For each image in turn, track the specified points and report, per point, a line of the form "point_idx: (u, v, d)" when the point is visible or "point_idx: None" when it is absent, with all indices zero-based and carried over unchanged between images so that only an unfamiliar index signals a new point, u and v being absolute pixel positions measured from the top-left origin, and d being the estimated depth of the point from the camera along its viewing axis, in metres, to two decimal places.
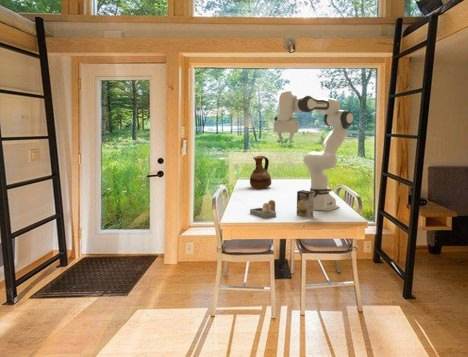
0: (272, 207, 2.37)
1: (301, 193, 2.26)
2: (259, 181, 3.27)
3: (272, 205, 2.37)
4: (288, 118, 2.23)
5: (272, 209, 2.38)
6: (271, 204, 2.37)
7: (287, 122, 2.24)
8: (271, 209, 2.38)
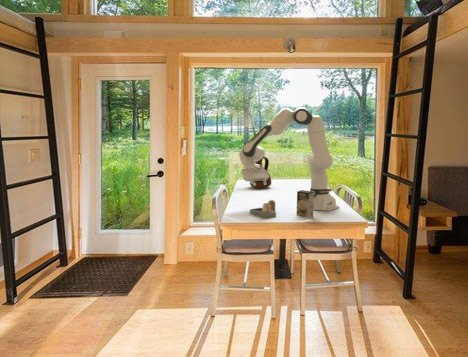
0: (272, 207, 2.37)
1: (301, 193, 2.26)
2: (259, 181, 3.27)
3: (272, 205, 2.37)
4: None
5: (272, 209, 2.38)
6: (271, 204, 2.37)
7: None
8: (271, 209, 2.38)
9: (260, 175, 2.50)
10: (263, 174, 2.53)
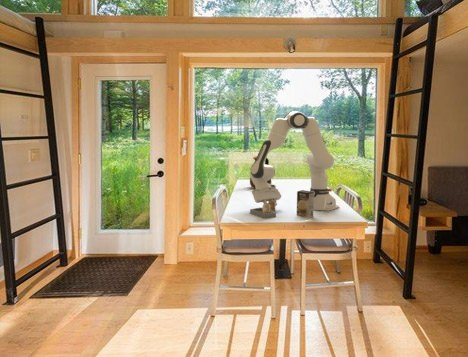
0: (272, 207, 2.37)
1: (301, 193, 2.26)
2: None
3: (272, 205, 2.37)
4: None
5: (272, 209, 2.38)
6: (271, 204, 2.37)
7: None
8: (271, 209, 2.38)
9: (272, 195, 2.43)
10: (275, 193, 2.45)
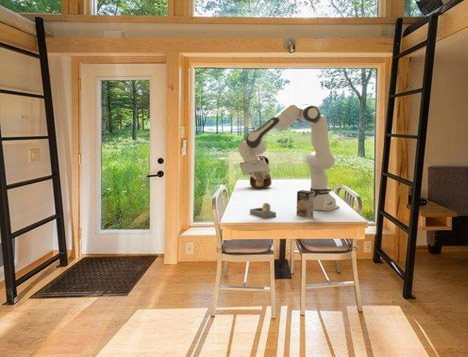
0: (260, 180, 2.28)
1: (301, 193, 2.26)
2: None
3: (260, 178, 2.28)
4: None
5: (260, 182, 2.28)
6: (259, 177, 2.28)
7: None
8: (259, 182, 2.28)
9: (260, 168, 2.34)
10: (264, 167, 2.36)
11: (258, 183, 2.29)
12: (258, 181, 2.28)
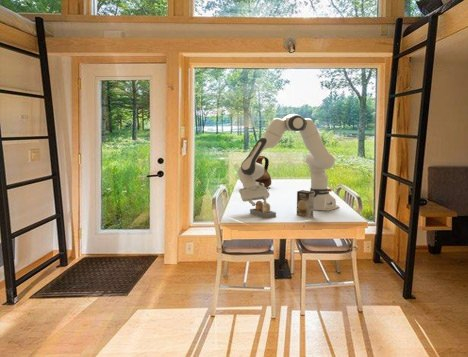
0: (260, 208, 2.30)
1: (301, 193, 2.26)
2: (259, 181, 3.27)
3: (260, 206, 2.30)
4: None
5: (260, 210, 2.31)
6: (259, 205, 2.30)
7: None
8: (259, 210, 2.31)
9: (260, 193, 2.36)
10: (263, 192, 2.38)
11: None
12: (258, 209, 2.31)
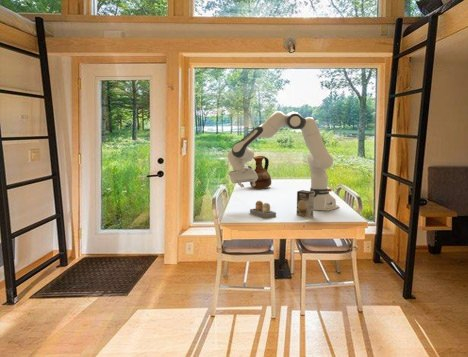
0: (260, 208, 2.31)
1: (301, 193, 2.26)
2: (259, 181, 3.27)
3: (260, 206, 2.30)
4: None
5: (260, 210, 2.31)
6: (259, 205, 2.30)
7: None
8: (259, 210, 2.31)
9: (248, 176, 2.45)
10: (252, 175, 2.47)
11: None
12: (258, 209, 2.31)
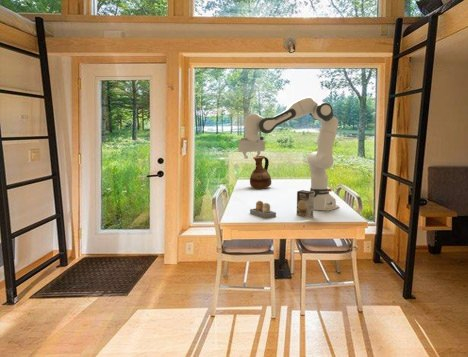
0: (260, 208, 2.30)
1: (301, 193, 2.26)
2: (259, 181, 3.27)
3: (260, 206, 2.30)
4: None
5: (260, 210, 2.31)
6: (259, 205, 2.30)
7: None
8: (259, 210, 2.31)
9: (256, 147, 2.45)
10: (260, 146, 2.47)
11: None
12: (258, 209, 2.31)
